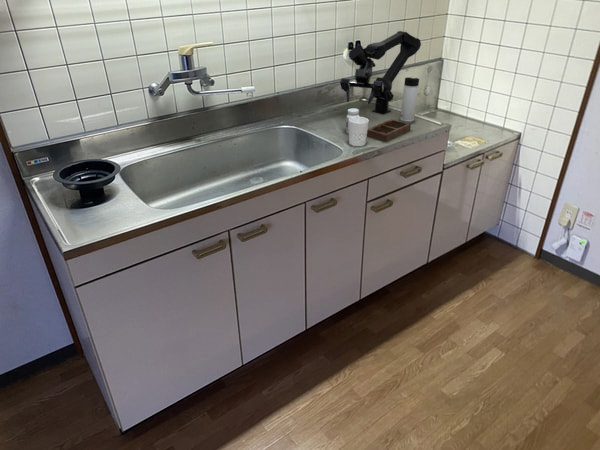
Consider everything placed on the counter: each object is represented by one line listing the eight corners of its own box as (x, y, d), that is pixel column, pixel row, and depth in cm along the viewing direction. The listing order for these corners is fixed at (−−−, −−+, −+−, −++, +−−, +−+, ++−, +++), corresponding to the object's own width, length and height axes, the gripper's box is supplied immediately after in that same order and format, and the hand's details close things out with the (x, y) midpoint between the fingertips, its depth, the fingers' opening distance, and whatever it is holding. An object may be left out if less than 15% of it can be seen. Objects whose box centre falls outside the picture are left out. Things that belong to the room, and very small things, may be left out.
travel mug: (398, 122, 211) (403, 78, 200) (401, 118, 216) (406, 74, 206) (412, 124, 209) (418, 79, 198) (415, 120, 214) (420, 75, 204)
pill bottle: (361, 131, 201) (362, 109, 196) (354, 135, 197) (355, 112, 192) (350, 129, 204) (351, 107, 199) (343, 132, 200) (344, 110, 195)
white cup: (356, 138, 195) (357, 115, 189) (370, 143, 190) (372, 119, 185) (343, 143, 190) (344, 119, 185) (358, 148, 185) (360, 124, 180)
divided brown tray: (391, 125, 208) (391, 118, 207) (410, 130, 202) (411, 124, 201) (366, 136, 197) (366, 129, 195) (385, 142, 191) (386, 135, 189)
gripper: (341, 59, 200) (334, 91, 197) (384, 62, 195) (377, 95, 192) (345, 73, 211) (338, 104, 208) (386, 76, 206) (379, 108, 203)
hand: (358, 102), depth 202 cm, fingers open, 9 cm apart
